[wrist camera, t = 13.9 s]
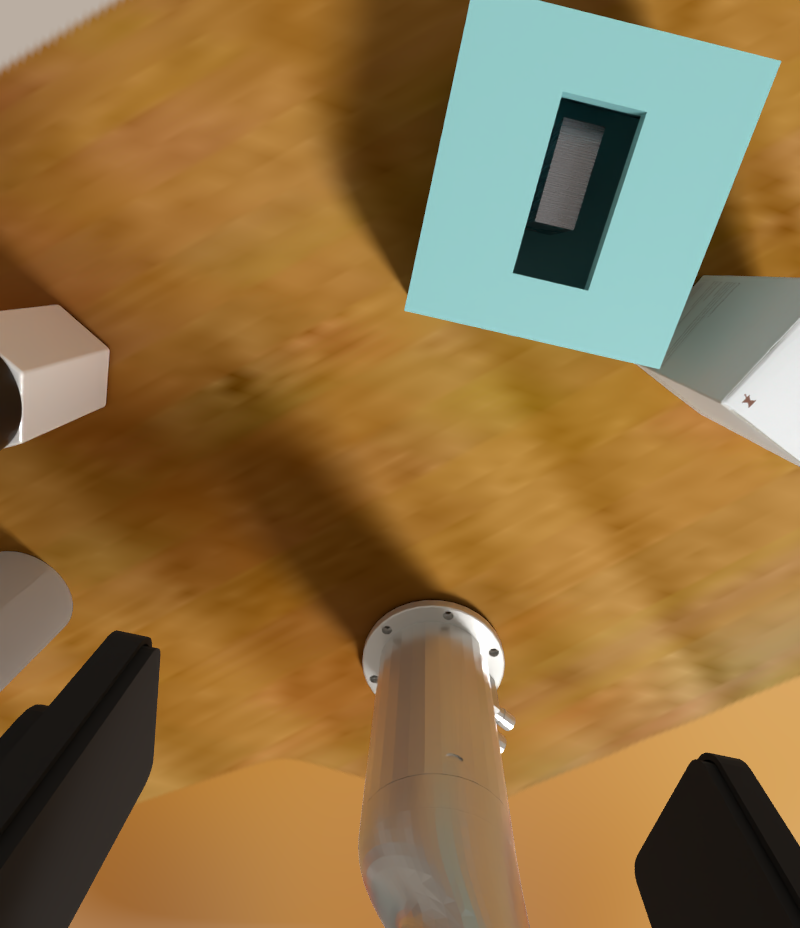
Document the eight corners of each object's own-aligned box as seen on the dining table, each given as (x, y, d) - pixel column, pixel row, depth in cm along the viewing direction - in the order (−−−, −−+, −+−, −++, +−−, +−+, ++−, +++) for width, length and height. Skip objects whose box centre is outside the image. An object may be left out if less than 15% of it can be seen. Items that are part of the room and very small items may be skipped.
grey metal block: (605, 126, 28) (573, 230, 29) (575, 149, 33) (550, 235, 35) (564, 117, 27) (534, 221, 29) (541, 141, 33) (517, 227, 35)
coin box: (680, 117, 33) (781, 61, 24) (602, 342, 38) (659, 369, 29) (460, 63, 33) (473, -17, 23) (409, 298, 38) (404, 310, 28)
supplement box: (701, 417, 40) (818, 484, 28) (627, 359, 38) (716, 402, 27) (781, 335, 37) (946, 369, 25) (705, 269, 36) (841, 273, 24)
